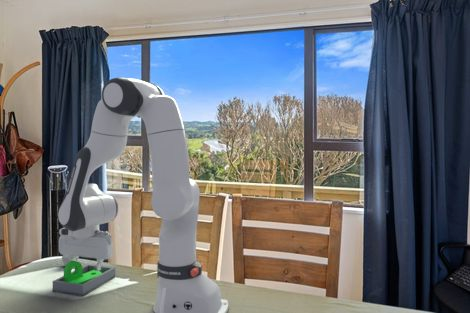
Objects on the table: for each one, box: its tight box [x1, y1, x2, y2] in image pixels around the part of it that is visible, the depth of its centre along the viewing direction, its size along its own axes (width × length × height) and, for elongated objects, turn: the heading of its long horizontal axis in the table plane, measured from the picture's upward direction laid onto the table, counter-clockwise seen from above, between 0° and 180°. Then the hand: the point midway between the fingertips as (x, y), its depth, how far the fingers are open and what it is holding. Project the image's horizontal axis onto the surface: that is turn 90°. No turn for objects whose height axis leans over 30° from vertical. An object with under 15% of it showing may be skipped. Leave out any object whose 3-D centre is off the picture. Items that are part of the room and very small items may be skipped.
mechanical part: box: [63, 260, 102, 284], centre depth 119 cm, size 12×6×8 cm, turn 150°
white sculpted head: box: [61, 255, 80, 266], centre depth 137 cm, size 6×7×7 cm
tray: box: [52, 263, 116, 297], centre depth 120 cm, size 12×17×4 cm
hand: (86, 268), depth 120 cm, fingers open, 8 cm apart
